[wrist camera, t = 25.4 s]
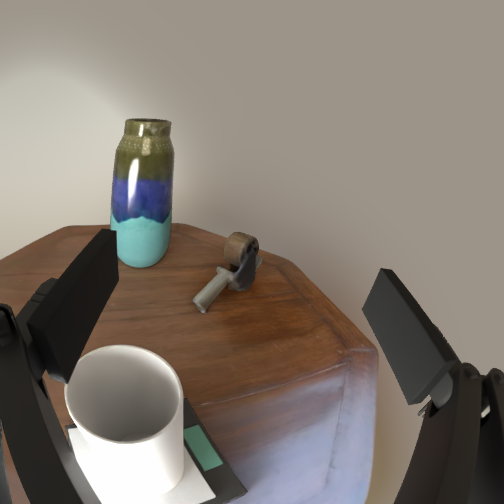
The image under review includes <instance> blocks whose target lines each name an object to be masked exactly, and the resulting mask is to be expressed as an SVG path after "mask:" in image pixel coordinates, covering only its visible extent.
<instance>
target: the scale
mask: <svg viewBox="0 0 504 504" xmlns="http://www.w3.org/2000/svg"><path fill="white" fill-rule="evenodd" d="M65 429H66V433H67V437H68V440H69V444H70V448H71V450H72V452H73V454H74V456H75V458H76V460H77V462H78V464H79V466H80V467H81V469H82V471H83V473H84V475H85V477H86V478H87V480H88V482H89V484H90V485H91V487H92V489H93V490H94V492H95V493H96V495H97V497H98V498H99V500H100V501H101V503H102V504H226V503H228V502H230V501H233V500H235V499H237V498H239V497H241V496H243V495H245V494H246V493H247V490H246V489H245V488H244V486H243V485H242V483H241V482H240V481H239V479H238V478H237V477H236V475H235V474H234V472H233V471H232V470H231V468H230V467H229V465H228V464H227V462H226V461H225V460H224V458H223V457H222V455H221V454H220V452H219V451H218V449H217V448H216V446H215V444H214V443H213V441H212V440H211V438H210V437H209V435H208V433H207V432H206V430H205V429H204V427H203V425H202V424H201V422H200V420H199V419H198V417H197V415H196V414H195V412H194V410H193V408H192V407H191V405H190V403H189V401H188V400H187V398H183V449H184V472H183V476H182V478H181V480H180V482H179V483H178V484H177V485H176V486H175V487H174V488H173V489H171V490H170V491H168V492H165V493H162V494H158V495H145V494H140V493H137V492H134V491H132V490H130V489H129V488H127V487H126V486H124V485H123V484H122V483H121V482H120V481H119V480H118V479H117V478H116V477H115V475H114V474H113V473H112V472H111V471H110V469H109V468H108V467H107V466H106V465H105V463H104V462H103V461H102V460H101V458H100V457H99V456H98V454H97V453H96V452H95V450H94V449H93V448H92V446H91V445H90V444H89V442H88V441H87V440H86V438H85V437H84V435H83V434H82V432H81V431H80V429H79V428H78V426H77V425H76V424H72V425H66V426H65Z"/></svg>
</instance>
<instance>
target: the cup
mask: <svg viewBox="0 0 504 504" xmlns="http://www.w3.org/2000/svg"><path fill="white" fill-rule="evenodd" d="M64 393H65V401H66V405H67V408H68V410H69V413H70V415H71V417H72V419H73V420H74V422H75V423H76V425H77V426H78V428H79V429H80V431H81V432H82V434H83V435H84V437H85V438H86V440H87V441H88V442H89V444H90V445H91V446H92V448H93V449H94V450H95V452H96V453H97V454H98V456H99V457H100V458H101V460H102V461H103V462H104V463H105V465H106V466H107V467H108V468H109V469H110V471H111V472H112V473H113V474H114V475H115V477H116V478H117V479H118V480H119V481H120V482H121V483H122V484H123V485H124V486H126V487H127V488H129V489H130V490H132V491H134V492H137V493H140V494H145V495H158V494H162V493H165V492H168V491H170V490H171V489H173V488H174V487H175V486H176V485H177V484H178V483H179V482H180V480H181V478H182V476H183V472H184V449H183V391H182V386H181V383H180V380H179V378H178V376H177V374H176V372H175V371H174V369H173V368H172V367H171V366H170V365H169V363H168V362H166V361H165V360H164V359H163V358H161V357H160V356H159V355H157V354H155V353H153V352H151V351H149V350H147V349H144V348H141V347H137V346H131V345H110V346H105V347H101V348H98V349H96V350H93V351H91V352H89V353H87V354H86V355H84V356H83V357H82V358H80V359H79V360H78V362H77V364H76V367H75V369H74V371H73V374H72V376H71V378H70V381H69V383H68V384H65V390H64Z"/></svg>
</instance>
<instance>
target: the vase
mask: <svg viewBox="0 0 504 504" xmlns="http://www.w3.org/2000/svg"><path fill="white" fill-rule="evenodd" d="M170 131H171V122H170V121H167V120H160V119H127V120H126V122H125V129H124V135H123V137H122V139H121V141H120V143H119V145H118V147H117V150H116V154H115V162H114V171H113V183H112V197H111V220H110V230H116V231H117V256H118V258H119V259H120V260H121V261H122V262H123V263H125V264H126V265H128V266H131V267H136V268H144V267H149V266H152V265H154V264H156V263H157V262H159V261H160V260H161V259H162V257H163V256H164V255H165V253H166V251H167V249H168V247H169V243H170V237H171V220H172V190H173V171H174V149H173V145H172V142H171V139H170Z"/></svg>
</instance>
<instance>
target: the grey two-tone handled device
mask: <svg viewBox="0 0 504 504" xmlns="http://www.w3.org/2000/svg"><path fill="white" fill-rule="evenodd" d="M258 251H259V244H258V241H257V239H256V238H255V237H253V236H250V235H247V234H245V233H241V232H234V233H233V234H231V235H230V236H229V237H228V239H227V241H226V244H225V248H224V258H225V260H226V261H227V262H229V263H230V270H229V271H228V270H227V269H225V268H224V267H222V266H218V268H217V273H218V274H217V275H216V276H215V277H214V278H213V279H212V280H211V281H210V282H209V283H208V284H207V285H206V286H205V287H204V288H203V289H202V290H201V291H200V292H199V293H198V294H197V295H196V296H195V297H194V298H193V302H194V303H195V304H196V306H197V307H198V310H200V311H201V313H205V312H206V309H207V308H208V306H209V305H210V303H211V302H212V301H213V300H214V299H215V298H216V297H217V296H218V294H219V293H220V292H221V291H222V290H223V289H224V287H225V286H226V285H227V284H228V288H227V289H229V290H236V291H247V290H248V289H249V288H250V286H251V284H252V283H253V281H254V279H255V274H256V272H255V270H256V269H257V268H258V267H259V265H260V264H261V262H262V257H260V256H258V255H257V254H258Z"/></svg>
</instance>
